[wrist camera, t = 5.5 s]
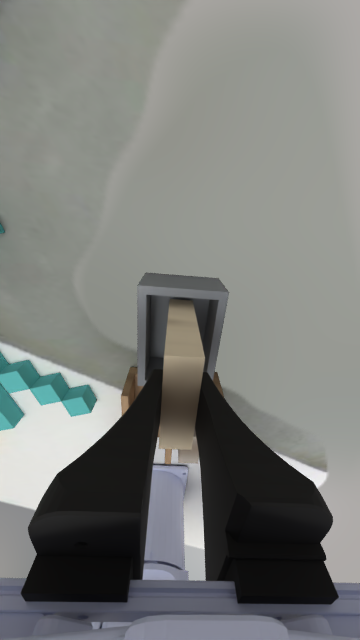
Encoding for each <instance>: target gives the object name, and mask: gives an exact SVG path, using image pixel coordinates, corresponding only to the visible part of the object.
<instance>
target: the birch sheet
mask: <svg viewBox="0 0 360 640" xmlns="http://www.w3.org/2000/svg"><path fill="white" fill-rule="evenodd" d="M204 362H205V355H204V351H203V346H202V341H201V337H200V332H199V328H198V323H197V318H196V314H195V309H194V305H193V300H179V299H170V301H169V311H168V321H167V331H166V341H165V351H164V366H163V383H162V400H161V417H160V435H159V449H181V450H191V449H192V443H193V436H194V429H195V422H196V416H197V409H198V402H199V396H200V389H201V382H202V375H203V369H204Z"/></svg>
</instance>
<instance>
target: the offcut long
mask: <svg viewBox="0 0 360 640" xmlns="http://www.w3.org/2000/svg"><path fill="white" fill-rule="evenodd" d="M198 458H199V452H198V445H197V438H196V432H195V429H194V436H193V443H192V449H191V450H181V449H178V463H198Z"/></svg>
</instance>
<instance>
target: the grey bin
mask: <svg viewBox="0 0 360 640" xmlns="http://www.w3.org/2000/svg"><path fill="white" fill-rule="evenodd" d="M228 295H229V292H228V290H227V289H226V288H225V286H224V285H223V284H222V282H221V281H220V280H219V279H218V278H207V277H193V276H181V275H169V274H156V273H145V275H144V276H143V278H142V279H141V281H140V282H139V284H138V386H144V385H145V383H146V381H147V380H148V378H149V376H150V373H151V371H152V370H153V369H162V370H163V366H164V351H165V341H166V331H167V321H168V311H169V301H170V299H179V300H193V305H194V309H195V314H196V318H197V323H198V328H199V332H200V337H201V341H202V346H203V351H204V355H205V362H204V369H203V372H208V374H209V375H210V377H211V379H212V380H213V377H214V371H215V366H216V360H217V355H218V349H219V344H220V338H221V333H222V328H223V322H224V316H225V311H226V306H227V300H228Z"/></svg>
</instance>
